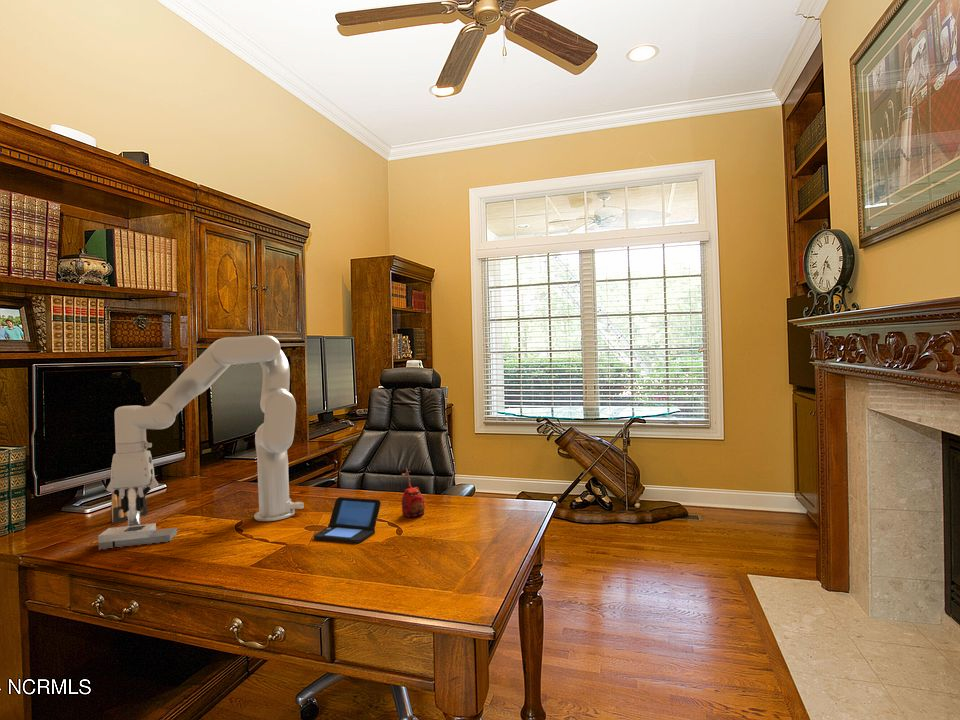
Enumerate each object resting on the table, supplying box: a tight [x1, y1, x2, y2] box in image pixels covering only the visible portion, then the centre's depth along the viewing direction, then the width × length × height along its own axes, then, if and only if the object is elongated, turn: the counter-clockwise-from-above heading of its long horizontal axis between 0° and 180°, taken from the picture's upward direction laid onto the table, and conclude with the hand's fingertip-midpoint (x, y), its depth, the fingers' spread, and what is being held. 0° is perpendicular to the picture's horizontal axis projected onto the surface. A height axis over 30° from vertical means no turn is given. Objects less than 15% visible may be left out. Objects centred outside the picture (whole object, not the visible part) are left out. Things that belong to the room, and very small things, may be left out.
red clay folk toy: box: [401, 467, 426, 519], centre depth 171 cm, size 8×7×15 cm
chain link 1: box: [97, 522, 157, 551], centre depth 153 cm, size 12×7×4 cm, turn 105°
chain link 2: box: [114, 527, 178, 548], centre depth 154 cm, size 14×7×2 cm, turn 105°
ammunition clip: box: [110, 488, 148, 524], centre depth 177 cm, size 11×2×12 cm, turn 151°
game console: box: [313, 496, 382, 544], centre depth 154 cm, size 16×14×9 cm
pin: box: [127, 487, 141, 526], centre depth 153 cm, size 4×4×13 cm
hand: (133, 510), depth 153 cm, fingers closed on pin, 3 cm apart
